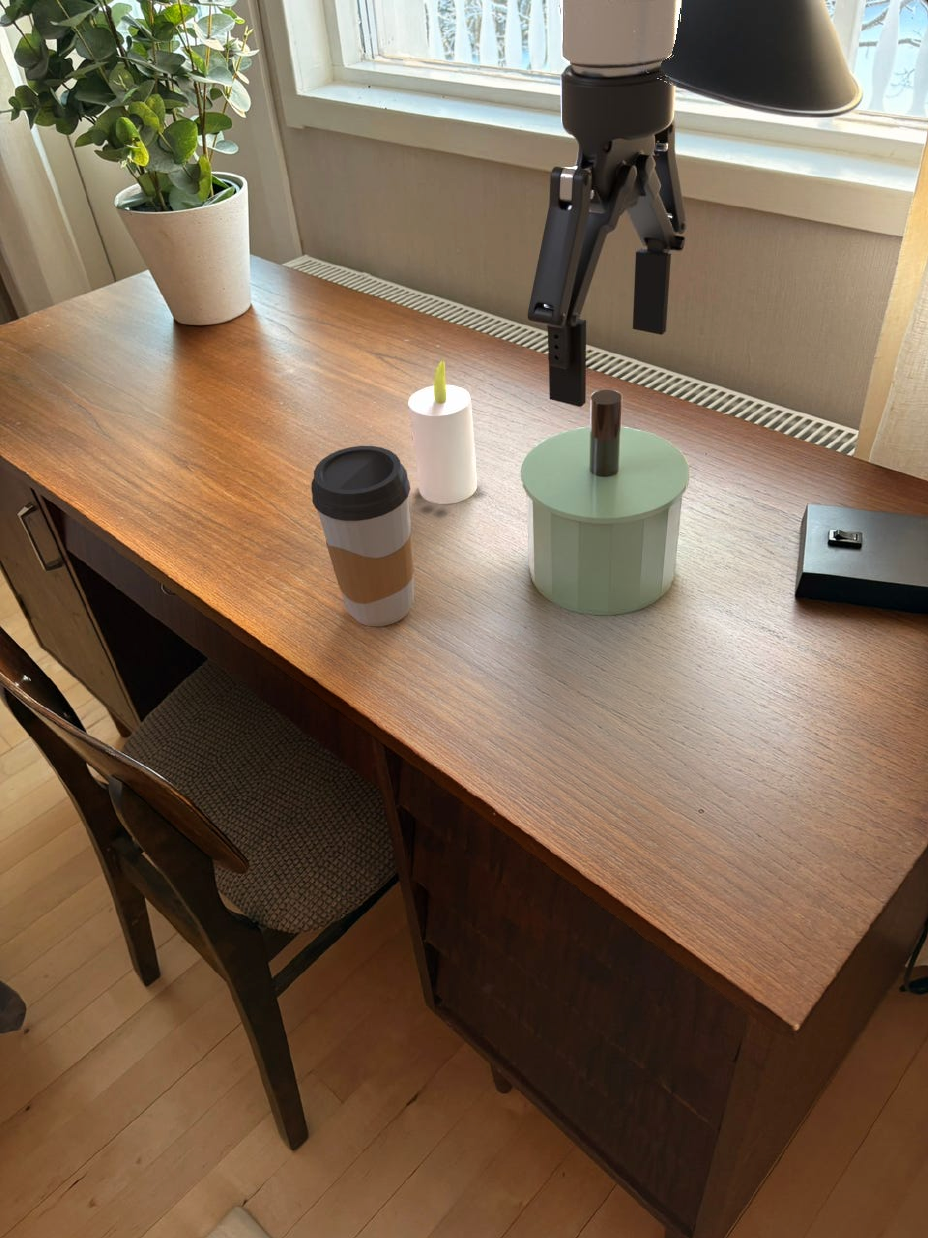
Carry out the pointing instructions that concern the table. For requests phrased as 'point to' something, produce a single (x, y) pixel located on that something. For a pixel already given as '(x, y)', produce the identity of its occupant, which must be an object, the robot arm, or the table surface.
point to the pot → (602, 560)
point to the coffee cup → (367, 531)
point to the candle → (443, 441)
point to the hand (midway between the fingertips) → (610, 364)
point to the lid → (605, 469)
